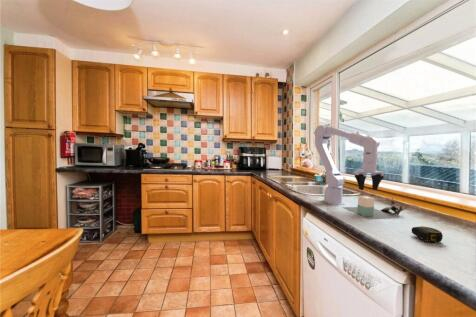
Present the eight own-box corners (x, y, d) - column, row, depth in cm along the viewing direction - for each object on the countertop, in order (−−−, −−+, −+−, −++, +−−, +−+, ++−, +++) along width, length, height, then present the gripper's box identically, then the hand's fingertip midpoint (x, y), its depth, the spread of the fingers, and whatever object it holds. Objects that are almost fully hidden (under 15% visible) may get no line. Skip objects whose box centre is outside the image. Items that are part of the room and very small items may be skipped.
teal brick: (357, 213, 99) (357, 204, 99) (365, 212, 100) (366, 204, 99) (364, 216, 94) (364, 207, 94) (373, 215, 95) (373, 207, 95)
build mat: (341, 208, 108) (341, 207, 108) (369, 207, 111) (369, 206, 111) (369, 219, 91) (369, 218, 91) (401, 218, 93) (401, 218, 93)
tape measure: (410, 235, 75) (410, 224, 75) (432, 237, 74) (432, 226, 74) (423, 243, 69) (423, 232, 69) (447, 245, 68) (448, 234, 67)
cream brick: (357, 204, 99) (358, 196, 98) (366, 204, 99) (367, 196, 99) (365, 207, 94) (365, 198, 94) (374, 207, 95) (374, 198, 95)
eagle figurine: (410, 214, 97) (394, 204, 107) (405, 200, 96) (389, 192, 105) (394, 222, 98) (380, 212, 107) (388, 209, 96) (374, 200, 106)
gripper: (362, 162, 99) (360, 191, 100) (389, 162, 101) (387, 191, 102) (352, 161, 106) (350, 188, 106) (377, 161, 108) (375, 188, 109)
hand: (368, 189), depth 105 cm, fingers open, 7 cm apart
